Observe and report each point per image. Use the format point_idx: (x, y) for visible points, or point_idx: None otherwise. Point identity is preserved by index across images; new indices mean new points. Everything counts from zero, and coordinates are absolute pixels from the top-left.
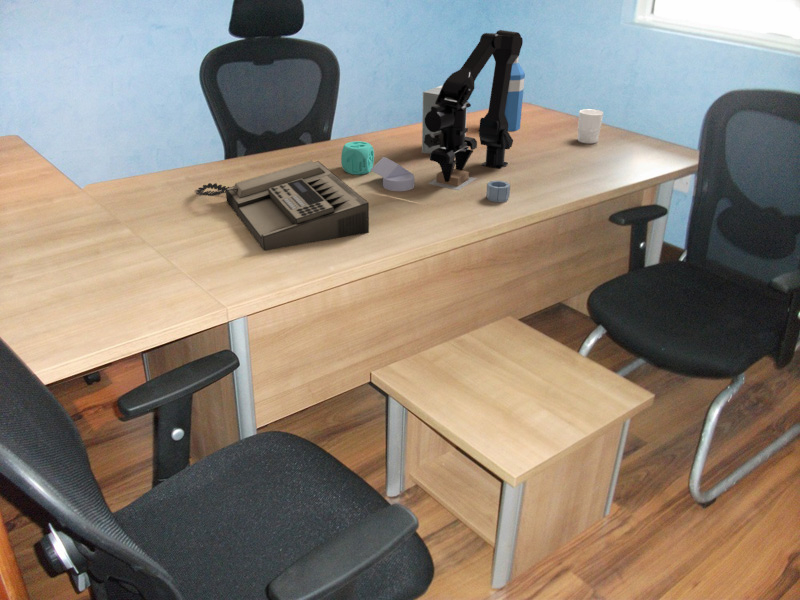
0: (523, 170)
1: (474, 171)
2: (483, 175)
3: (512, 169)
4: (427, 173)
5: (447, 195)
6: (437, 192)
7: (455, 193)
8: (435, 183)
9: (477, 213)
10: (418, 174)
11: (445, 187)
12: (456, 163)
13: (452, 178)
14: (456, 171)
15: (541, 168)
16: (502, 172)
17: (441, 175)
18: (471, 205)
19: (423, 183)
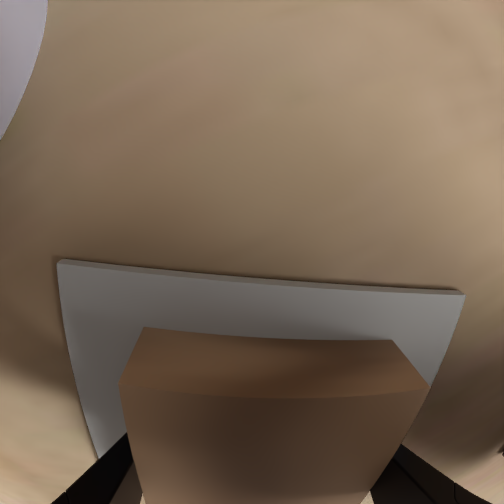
0: (485, 488)
1: (496, 404)
2: (440, 462)
3: (498, 469)
4: (414, 111)
5: (19, 431)
6: (5, 378)
7: (73, 462)
8: (104, 333)
9: (4, 501)
10: (342, 29)
11: (86, 419)
12: (418, 499)
13: (146, 493)
14: (327, 485)
15: (494, 495)
16: (474, 474)
17: (129, 430)
18: (29, 499)
19: (81, 198)
